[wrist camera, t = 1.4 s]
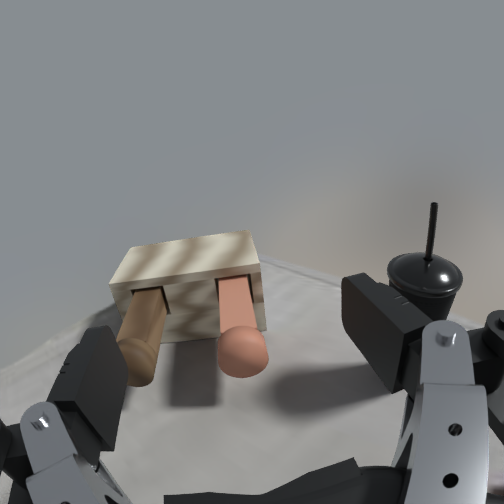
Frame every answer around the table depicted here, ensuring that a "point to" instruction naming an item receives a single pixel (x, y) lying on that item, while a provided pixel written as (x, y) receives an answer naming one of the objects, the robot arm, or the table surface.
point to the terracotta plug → (239, 330)
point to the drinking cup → (426, 277)
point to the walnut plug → (143, 334)
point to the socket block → (191, 281)
